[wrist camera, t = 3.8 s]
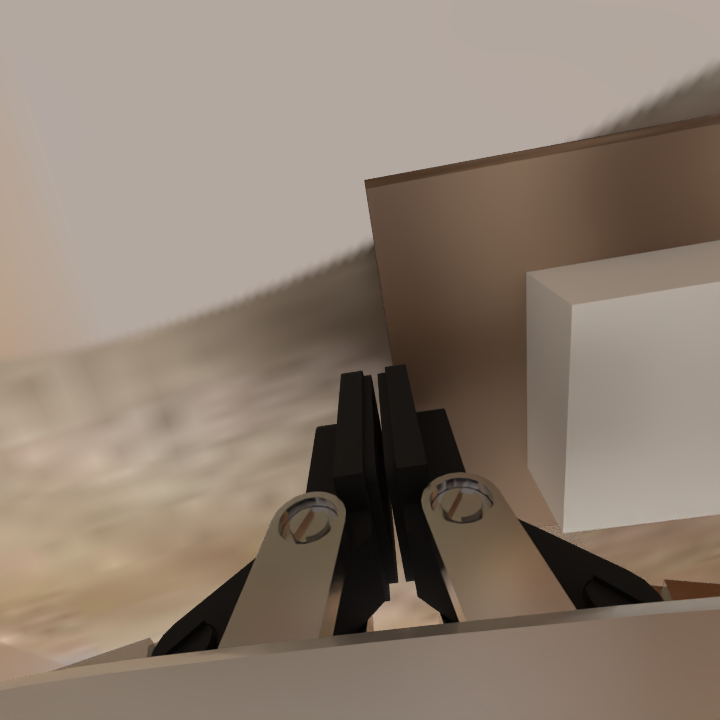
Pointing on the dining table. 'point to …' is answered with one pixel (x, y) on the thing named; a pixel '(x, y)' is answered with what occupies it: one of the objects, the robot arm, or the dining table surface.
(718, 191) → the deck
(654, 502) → the white rectangular block
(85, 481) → the dining table surface
